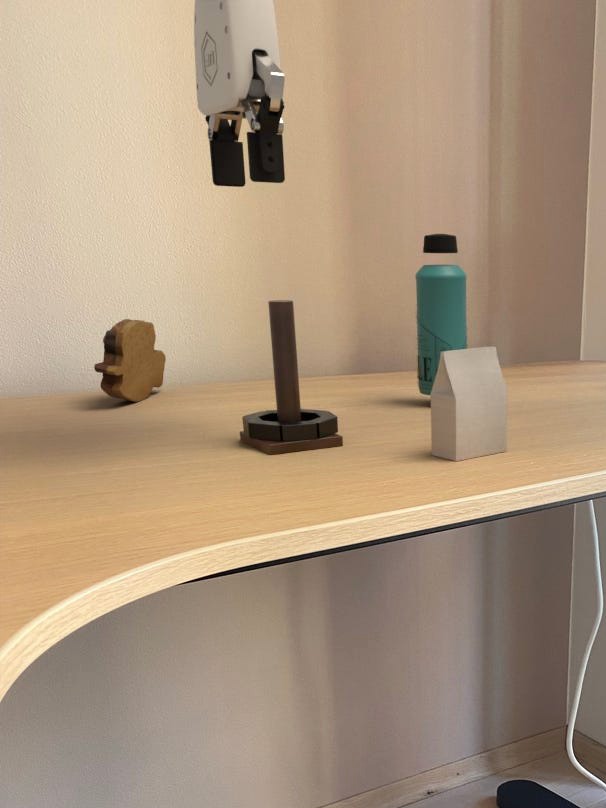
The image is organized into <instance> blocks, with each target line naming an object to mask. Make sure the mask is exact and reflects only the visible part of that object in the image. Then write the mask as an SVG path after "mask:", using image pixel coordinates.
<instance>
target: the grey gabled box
mask: <svg viewBox="0 0 606 808" xmlns="http://www.w3.org/2000/svg"><path fill="white" fill-rule="evenodd" d="M430 432H431V434H430V435H431V436H430V438H431V439H430V441H431V444H430V445H431V456H434V457H439V458H442V459H446V460H450V461H453V462H459V461H466V460H469V459H475V458H479V457H484V456H490V455H494V454H500V453H505V452H507V451H508V450H507V449H508V443H507V442H508V388H507V386H506V382H505V379H504V375H503V372H502V369H501V365H500V361H499V358H498V352H497V347H496V346H493V345H492V346H483V347H474V348H473V347H472V348H467V349H462V350H453V351H443V352H441V355H440V362H439V366H438V371H437V374H436V377H435V381H434V384H433V388H432V391H431V395H430Z"/></svg>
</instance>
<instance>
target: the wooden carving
mask: <svg viewBox="0 0 606 808" xmlns="http://www.w3.org/2000/svg"><path fill="white" fill-rule="evenodd" d="M156 338H157V337H156V331H155V325H154V323H153V322H149V321H145V320H141V319H129V318H124V319H122V320H120V321H118V322H116V323H115V324H114V325H112V327H111V328H110V329H108V330H106V332H105V335H103V338H102V343H103V360H102V362H98V363H95V364H94V366H93V369H94V371H95V372H96V373H99V374H102V377H101V378H102V379H101V381H100V389H101V390H102V391H103V392H104V393H105V394H106V395H108V397H112V398H115V399H120V400H121V399H122V400H124V401H128V402H134V403H139V402H142V401H143V400H146V399H147V397H148V396H149V395H150V394H151V393H152V391H153V389H154V388H157V389H159V388H161V387H162V386H163V385H164V384H163V383H164V373H165V367H166V366H165V364H166V360H167V359H166V357H167V356H166V354H165V353H164V351H162V350H160V349H155V343H156V341H157V340H156Z"/></svg>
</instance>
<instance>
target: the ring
mask: <svg viewBox="0 0 606 808" xmlns="http://www.w3.org/2000/svg"><path fill="white" fill-rule="evenodd" d="M338 424H339V423H338V416H337V415H336V414H334V413H332V412H331V411H329V410H322V409H309V408H301V422H286V423H282V422H278V418H277V409H269V410H261V411H257V412H253V413H250V414H246V415H243V416H242V429H243V430H242V431H244V433H245V434H246V435H247V436H248V437H249V438H251V439H259V440H269V441H279V442H280V441H284V442H285V441H299V440H312V439H317V438H318V439H321V438H323V437H326V436H329V435H332V434H337V433H338V432H339V425H338Z"/></svg>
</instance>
